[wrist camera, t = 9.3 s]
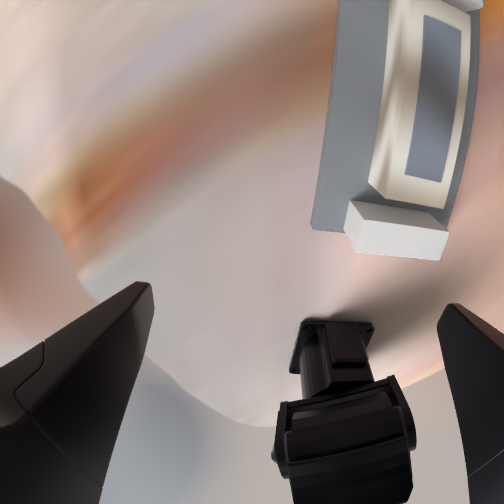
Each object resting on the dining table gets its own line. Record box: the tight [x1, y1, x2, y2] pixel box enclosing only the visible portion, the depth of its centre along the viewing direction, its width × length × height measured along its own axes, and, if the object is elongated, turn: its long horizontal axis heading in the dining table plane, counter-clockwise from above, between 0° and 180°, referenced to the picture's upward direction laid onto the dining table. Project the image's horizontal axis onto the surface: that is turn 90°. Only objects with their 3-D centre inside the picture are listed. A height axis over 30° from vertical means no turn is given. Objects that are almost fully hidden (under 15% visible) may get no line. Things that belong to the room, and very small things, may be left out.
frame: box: [368, 0, 471, 209], centre depth 13 cm, size 12×4×3 cm, turn 175°
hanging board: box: [311, 0, 483, 261], centre depth 14 cm, size 19×10×4 cm, turn 175°
